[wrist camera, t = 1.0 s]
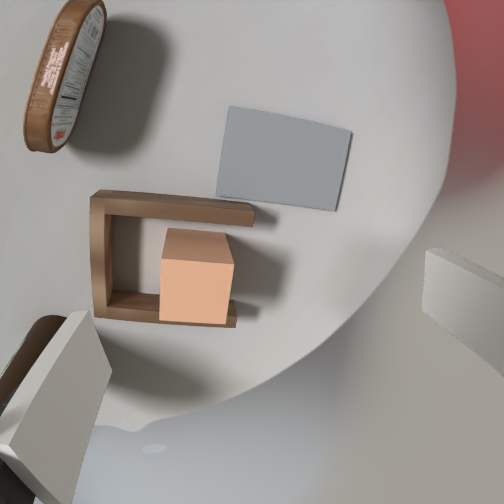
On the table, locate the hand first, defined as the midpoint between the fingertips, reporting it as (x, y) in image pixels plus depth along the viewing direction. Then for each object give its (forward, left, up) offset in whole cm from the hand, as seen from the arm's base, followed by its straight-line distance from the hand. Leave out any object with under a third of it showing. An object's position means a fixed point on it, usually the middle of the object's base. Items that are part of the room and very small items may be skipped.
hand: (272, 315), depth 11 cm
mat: (-4, +6, -23) cm, 24 cm away
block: (+8, -2, -23) cm, 24 cm away
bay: (+8, -5, -23) cm, 24 cm away
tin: (-10, -16, -23) cm, 30 cm away
